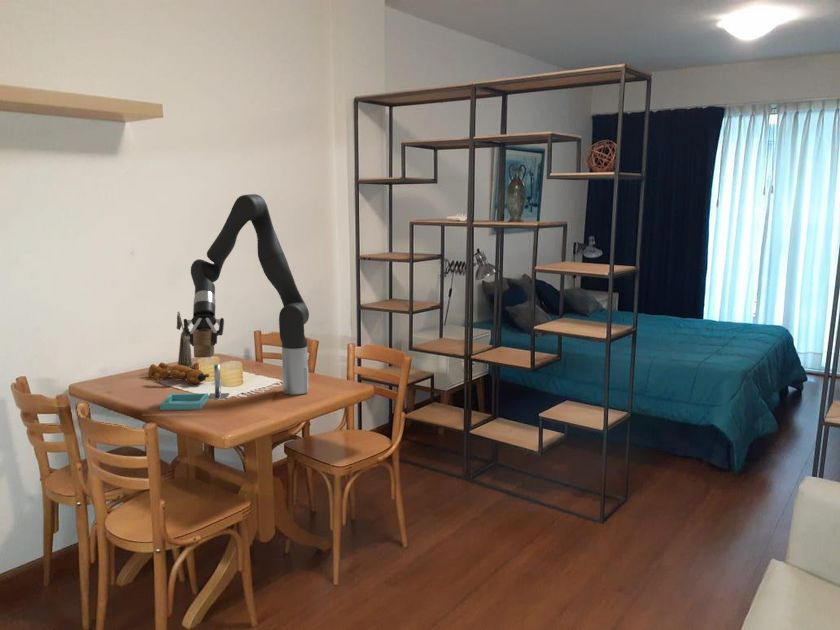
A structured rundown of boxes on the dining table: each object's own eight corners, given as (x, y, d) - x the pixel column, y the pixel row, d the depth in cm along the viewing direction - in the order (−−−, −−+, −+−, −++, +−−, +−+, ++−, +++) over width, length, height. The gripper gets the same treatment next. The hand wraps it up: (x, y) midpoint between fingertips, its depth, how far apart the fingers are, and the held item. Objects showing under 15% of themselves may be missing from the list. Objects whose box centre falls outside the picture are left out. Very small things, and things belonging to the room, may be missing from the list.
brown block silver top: (229, 394, 239) (228, 362, 237) (226, 399, 232) (224, 367, 230) (210, 394, 238) (209, 362, 236) (205, 400, 231) (204, 367, 230)
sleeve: (214, 353, 232) (213, 329, 231) (210, 357, 227) (209, 332, 225) (198, 353, 232) (197, 329, 230) (194, 357, 226) (193, 332, 225)
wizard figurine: (184, 373, 269) (181, 313, 265) (167, 371, 272) (164, 311, 268) (200, 367, 279) (198, 310, 275) (184, 365, 282) (181, 308, 278)
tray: (208, 400, 231) (208, 393, 231) (200, 410, 219) (200, 403, 219) (170, 401, 230) (170, 394, 229) (160, 411, 218) (160, 403, 218)
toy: (134, 383, 258) (181, 392, 241) (133, 366, 257) (180, 374, 240) (178, 373, 274) (225, 381, 257) (177, 357, 273) (224, 364, 256)
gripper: (182, 300, 232) (180, 339, 222) (224, 299, 235) (224, 337, 226) (184, 312, 238) (182, 351, 228) (225, 311, 241) (225, 349, 232)
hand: (203, 344), depth 227 cm, fingers closed on sleeve, 6 cm apart
